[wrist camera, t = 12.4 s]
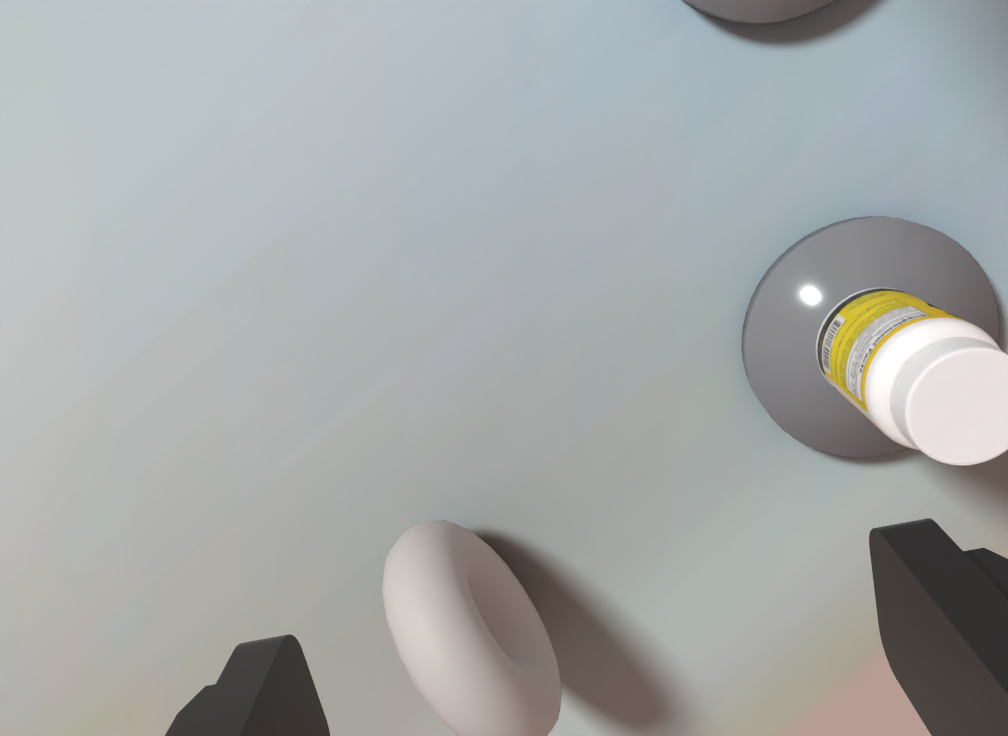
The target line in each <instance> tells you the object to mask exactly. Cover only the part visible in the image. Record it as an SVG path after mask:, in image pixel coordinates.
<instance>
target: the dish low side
mask: <svg viewBox="0 0 1008 736" xmlns="http://www.w3.org/2000/svg"><path fill="white" fill-rule="evenodd" d="M870 288H892V289H897V290H900V291H903V292H905V293H908V294H910V295H912V296H914V297H916V298H918V299H920V300H923V301H925V302H927V303H929V304H931V305H933V306H935V307H937V308H940V309H942V310H944V311H946V312H948V313H950V314H952V315H955V316H957V317H959V318H961V319H963V320H965V321H967V322H969V323H972V324H974V325H975V326H977V327H979V328H980V329H982V330H983V331H984V332H986V333H987V334H988V335H989V336H990V337H991V338H992V339H993V340H994V341H995V342H996V343H997V342H998V330H999V319H998V310H997V304H996V300H995V296H994V292H993V289H992V287H991V285H990V283H989V280H988V278H987V276H986V274H985V273H984V271H983V270H982V268H981V266H980V265H979V263H978V262H977V261H976V260H975V259H974V258H973V256H972V255H971V254H970V253H969V252H968V251H967V250H966V249H965V248H963V247H962V246H961V245H960V244H959V243H958V242H956V241H955V240H953V239H952V238H950V237H948V236H947V235H945V234H944V233H941V232H939V231H937V230H934V229H932V228H930V227H927V226H924V225H921V224H917V223H914V222H910V221H907V220H903V219H898V218H891V217H860V218H852V219H848V220H844V221H840V222H836V223H834V224H831V225H828V226H826V227H823V228H821V229H819V230H817V231H815V232H813V233H811V234H809V235H807V236H806V237H804V238H803V239H801V240H800V241H798V242H797V243H795V244H794V245H793V246H791V247H790V248H789V249H788V250H787V251H786V252H785V253H783V254H782V255H781V256H780V257H779V258H778V259H777V260H776V261H775V263H774V264H773V265H772V266H771V267H770V268H769V269H768V271H767V272H766V274H765V275H764V277H763V278H762V280H761V281H760V282H759V284H758V286H757V288H756V290H755V292H754V294H753V296H752V298H751V301H750V303H749V306H748V309H747V312H746V316H745V320H744V325H743V333H742V356H743V362H744V367H745V372H746V375H747V377H748V380H749V383H750V386H751V388H752V390H753V391H754V393H755V395H756V397H757V399H758V400H759V401H760V403H761V404H762V406H763V407H764V408H765V410H766V411H767V412H768V414H769V415H770V416H771V418H772V419H773V420H774V421H775V422H776V423H777V424H778V425H779V426H780V427H781V428H782V429H783V430H784V431H786V432H787V433H788V434H789V435H791V436H792V437H793V438H795V439H796V440H798V441H800V442H802V443H803V444H805V445H807V446H809V447H812V448H814V449H817V450H819V451H822V452H826V453H830V454H833V455H839V456H846V457H873V456H882V455H887V454H891V453H896V452H899V451H902V450H905V449H908V448H909V447H906V446H903V445H901V444H899V443H897V442H895V441H893V440H892V439H890V438H889V437H888V436H886V435H885V434H884V433H883V432H882V431H881V430H880V429H879V428H877V427H876V426H875V425H874V424H873V423H872V422H871V421H870V420H869V419H868V418H867V417H866V416H865V415H863V414H862V413H861V412H860V411H859V410H858V409H857V408H856V407H855V406H853V405H852V404H851V403H850V402H849V401H848V400H846V399H845V398H844V397H843V396H842V395H841V394H840V393H839V392H838V391H836V390H835V389H834V388H833V387H832V386H831V385H830V384H829V383H828V381H827V380H826V379H825V378H824V376H823V374H822V372H821V371H820V368H819V365H818V362H817V358H816V340H817V335H818V332H819V329H820V327H821V324H822V322H823V321H824V319H825V318H826V316H827V315H828V313H829V312H830V311H831V310H832V309H833V308H834V307H835V306H836V305H837V304H838V303H839V302H841V301H842V300H843V299H845V298H846V297H848V296H850V295H852V294H854V293H856V292H858V291H861V290H865V289H870Z"/></svg>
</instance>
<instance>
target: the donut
mask: <svg viewBox="0 0 1008 736" xmlns="http://www.w3.org/2000/svg"><path fill="white" fill-rule="evenodd" d="M382 596H383V601H384V607H385V612H386V618H387V623H388V625H389V628H390V631H391V634H392V636H393V639H394V642H395V645H396V647H397V650H398V653H399V656H400V658H401V660H402V662H403V664H404V665H405V667H406V669H407V671H408V673H409V675H410V677H411V678H412V680H413V682H414V684H415V686H416V687H417V689H418V690H419V692H420V693H421V694H422V696H423V697H424V698H425V700H426V701H427V702H428V704H429V705H430V707H431V708H432V709H433V711H434V712H435V713H436V715H437V716H438V717H439V718H440V719H441V720H442V721H443V722H444V723H445V724H446V725H447V726H448V727H449V728H450V729H451V730H452V731H453V732H454V733H455V734H456V735H457V736H547V735H548V734H549V733H550V732H551V730H552V729H553V727H554V725H555V724H556V722H557V720H558V717H559V712H560V706H561V694H562V687H561V681H560V675H559V670H558V664H557V659H556V656H555V653H554V650H553V647H552V644H551V641H550V638H549V636H548V633H547V631H546V629H545V627H544V625H543V623H542V621H541V619H540V616H539V614H538V612H537V610H536V608H535V607H534V605H533V603H532V602H531V600H530V598H529V597H528V595H527V593H526V591H525V590H524V588H523V586H522V585H521V584H520V582H519V581H518V579H517V578H516V577H515V575H514V574H513V573H512V571H511V570H510V568H509V567H508V566H507V564H506V563H505V562H504V561H503V560H502V559H501V558H500V557H499V555H498V554H497V553H496V552H495V551H494V550H493V549H492V548H491V547H490V546H489V545H488V544H486V543H485V542H484V541H483V540H481V539H480V538H479V537H478V536H477V535H475V534H474V533H473V532H471V531H470V530H468V529H466V528H464V527H461V526H459V525H457V524H455V523H451V522H447V521H433V522H426V523H420V524H418V525H415V526H413V527H411V528H409V529H407V530H406V531H405V532H404V533H403V534H402V535H401V536H400V537H399V539H398V540H397V542H396V543H395V545H394V546H393V548H392V549H391V551H390V553H389V555H388V556H387V558H386V560H385V567H384V576H383V587H382Z"/></svg>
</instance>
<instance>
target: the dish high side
mask: <svg viewBox="0 0 1008 736" xmlns="http://www.w3.org/2000/svg"><path fill="white" fill-rule="evenodd" d="M683 1H685V2H686V3H688V4H689V5H691V6H692V7H694V8H695V9H697V10H699V11H701V12H703V13H706V14H708V15H710V16H712V17H715V18H719V19H722V20H726V21H729V22H736V23H743V24H766V23H773V22H781V21H784V20H788V19H791V18H795V17H798V16H801V15H804V14H807V13H810V12H812V11H814V10H817V9H819V8H821V7H824V6H826V5H827V4H829V3H831V2H833V1H834V0H683Z"/></svg>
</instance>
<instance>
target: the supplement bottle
mask: <svg viewBox="0 0 1008 736" xmlns="http://www.w3.org/2000/svg"><path fill="white" fill-rule="evenodd" d="M816 358H817V362H818V365H819V368H820V371H821V372H822V374H823V376H824V378H825V379H826V380H827V381H828V383H829V384H830V385H831V386H832V387H833V388H834V389H835V390H836V391H838V392H839V393H840V394H841V395H842V396H843V397H844V398H845V399H846V400H848V401H849V402H850V403H851V404H852V405H853V406H855V407H856V408H857V409H858V410H859V411H860V412H861V413H862V414H863V415H865V416H866V417H867V418H868V419H869V420H870V421H871V422H872V423H873V424H874V425H875V426H876V427H877V428H879V429H880V430H881V431H882V432H883V433H884V434H885V435H886V436H888V437H889V438H890V439H892V440H893V441H895V442H897V443H899V444H901V445H903V446H906V447H909V448H912V449H916V450H920V451H921V452H923V453H924V454H926V455H927V456H929V457H930V458H932V459H934V460H936V461H939V462H942V463H945V464H950V465H960V466H965V465H974V464H979V463H982V462H985V461H988V460H991V459H993V458H995V457H997V456H999V455H1000V454H1002V453H1004V452H1005V451H1007V450H1008V354H1006V353H1004V352H1003V351H1002V350H1001V349H1000V348H999V346H998V345H997V343H996V342H995V341H994V340H993V339H992V338H991V337H990V336H989V335H988V334H987V333H986V332H984V331H983V330H982V329H980V328H979V327H977V326H975V325H974V324H972V323H969V322H967V321H965V320H963V319H961V318H959V317H957V316H955V315H952V314H950V313H948V312H946V311H944V310H942V309H940V308H937V307H935V306H933V305H931V304H929V303H927V302H925V301H923V300H920V299H918V298H916V297H914V296H912V295H910V294H908V293H905V292H903V291H900V290H897V289H892V288H870V289H865V290H861V291H858V292H856V293H854V294H852V295H850V296H848V297H846V298H845V299H843V300H842V301H841V302H839V303H838V304H837V305H836V306H835V307H834V308H833V309H832V310H831V311H830V312H829V313H828V315H827V316H826V318H825V319H824V321H823V322H822V324H821V327H820V329H819V332H818V335H817V340H816Z"/></svg>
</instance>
